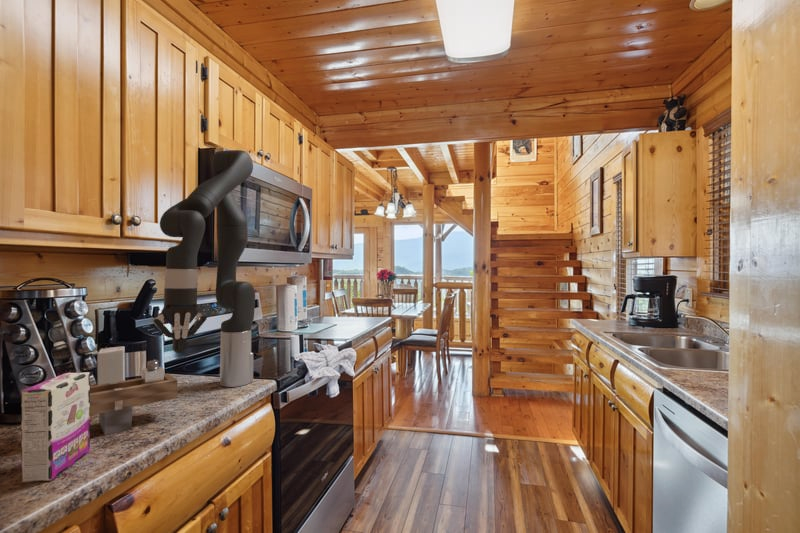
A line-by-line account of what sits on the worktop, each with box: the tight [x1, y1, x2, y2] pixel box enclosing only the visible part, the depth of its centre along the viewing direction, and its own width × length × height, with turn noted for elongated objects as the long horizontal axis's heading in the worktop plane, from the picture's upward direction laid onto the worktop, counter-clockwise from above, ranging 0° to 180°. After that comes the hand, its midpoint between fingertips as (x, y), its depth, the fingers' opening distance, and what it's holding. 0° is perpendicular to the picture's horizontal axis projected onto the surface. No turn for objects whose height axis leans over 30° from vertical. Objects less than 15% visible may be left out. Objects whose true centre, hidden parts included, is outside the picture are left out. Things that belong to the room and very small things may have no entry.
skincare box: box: [97, 346, 126, 385], centre depth 107 cm, size 8×6×15 cm
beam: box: [89, 373, 178, 436], centre depth 91 cm, size 24×9×10 cm, turn 135°
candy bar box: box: [20, 371, 91, 484], centre depth 73 cm, size 11×5×16 cm, turn 9°
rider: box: [141, 359, 165, 385], centre depth 96 cm, size 4×4×7 cm
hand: (179, 352), depth 100 cm, fingers closed
